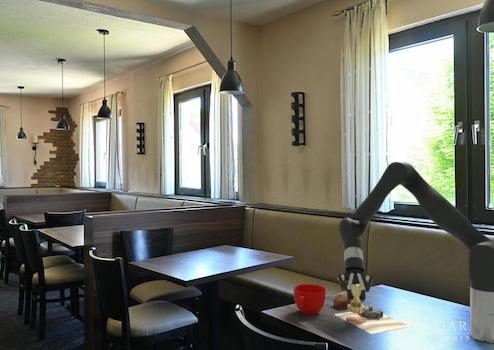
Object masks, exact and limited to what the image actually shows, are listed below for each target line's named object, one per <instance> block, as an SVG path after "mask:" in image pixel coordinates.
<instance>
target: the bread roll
mask: <svg viewBox="0 0 494 350" xmlns="http://www.w3.org/2000/svg"><path fill="white" fill-rule="evenodd" d="M332 302H333V306H334V308H336V307H337V308H336V309H339V308H340V309H339V310H346V309H348V304H350V303H351V301H349V300H348V299H347V292H346V291H341V292H339V293H337V294H336V295H335V297H334V298H333V301H332Z"/></svg>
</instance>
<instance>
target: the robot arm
mask: <svg viewBox="0 0 494 350" xmlns="http://www.w3.org/2000/svg"><path fill="white" fill-rule="evenodd" d="M398 186H402V187H403V188H405V189H406V190H407V191H408V192H409V193H411V195H413V196H414V198H415V199H416V201H417V203H418V204H419V207H420V209H421V210H422V211H423V212H424V214H425V215H426V216H427V217H428V218H429V219H430V220H431V221H432V222H433V223H434V224H435V225H436V226H437V227H438V228H440V229H441V230H443V231H445V232H446V233H448V234H449V235H451V236H452V237H454V238H455V239H457V240H458V241H459V242H461V243H462V244H463V245H464V247H466V249H468V250H469V253H468V279H469V282H470V284H469V285H470V287H469V290H470V291H469V293H470V294H469V296H470V297H469V298H470V299H469V301H470V302H469V304H470V305H469V336H470V337H471V338H472V339H474V340H477V341H480V342H484V341H486V342H485V343H488V342H489V344H493V343H494V241H493V240H491V239H490V238H489V237H487V236H486V235H485V234H483V233H482V232H481V231H480V230H478V228H477V227H475V225H473V223H471V222H470V220H469V219H468V218H467V217H465V215H463V214H462V212H460V211H459V210H458V209H457V208H456V206H454V204H452V203H451V202H450V200H448V199H447V198H446V197H444V196H443V195H442V194H441V193H440V192H439V191H438V190H437V189H435V188H434V187H432V185H430V184H429V183H428V182H427V181H426V180H425V179H424V178H423V176H422V175H421V174H420V173H419V172H418V171H417V169H416V168H414V166H413V165H412V164H410V163H409V162H406V161H400V160H399V161H397V160H396V161H393V162H390V163H389V165H387V167H386V168H385V170H384V171H383V173H382V175H381V176H380V178H379V180H378V181H377V183H376V185H375V186H374V188H373V189H372V190H371V192H370V193H369V194H368V195H367V196H366V198H365V199H364V200H363V201H362V203H361V204H360V205H359V206H358V207H357V208H356V210H355V211H354V215H355V217H356V218H357V220H358V221H356V220H354V219H352V218H350V217H344V218H342V219H341V220H340V221H339V224H338V225H339V226H338V230H339V234H340V237H341V240H342V243H343V248H344V249H343V252H344V255H343V262H344V264H343V265H344V273H343V274H337V282H338V284H339V286H340V288H341V292H344V291H346V292H347V299H348V300H349V301H351V284H352V283H359V284H361V285H362V298H361V300H362V301H361V303H364V302H365V301H366V299H367V298H366V296H367V295H366V293H369V292H370V290H371V287H372V284H373V279H374V276H373V275H370V276H369V275H367V274H366V272H365V263H364V254H363V247H362V242H361V239H360V238H361V237H363V235H364V234H365V232H366V230H367V227H368V225H369V223H370V221H371V220H372V218H374V216H375V215H376V214H377V213H378V212H379V211H380V209H381V208H382V206H383V205H384V202H385V200H386V199H387V197H388V196H389V194H390V193H391V192H392V191H393V190H394V189H396V188H397V187H398ZM344 279H345V281H346V282H347V283H348V284H347V285H346V284H345V281H344ZM365 280H366V282H367V285H366V286H365V284H364V281H365Z"/></svg>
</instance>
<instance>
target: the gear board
mask: <svg viewBox="0 0 494 350" xmlns="http://www.w3.org/2000/svg"><path fill="white" fill-rule="evenodd" d="M363 306H364V312H362V313H353V312H349V311H347V312H339V313H333V314H334V316H336V317H338V318H340V319H342V320H344V321H346V322H347V323H349V324H351V325H353V326H356V327H357V328H359V329H360V330H362V331H365V333H368V334H370V335H374V334H381V333H385V332H390V331H396V330H402V329H405V328H410V327H412V326H411V325H408V324H406V323H404V322H401V321H399V320H396V319H395V318H393V317H391V316H388V315H386V314H384V310H382V308H380V307H376V306H373V305H372V304H371V305H370V304H369V305H368V306H365V305H363Z"/></svg>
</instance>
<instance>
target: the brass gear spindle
mask: <svg viewBox="0 0 494 350" xmlns="http://www.w3.org/2000/svg"><path fill="white" fill-rule="evenodd" d="M350 290H351V303H350V304H348V310H347V311H348V312H353V313H362V312H364V306H365V305H364V304H362V300H361V298H362V285H361V284H359V283H352V284H351V289H350Z"/></svg>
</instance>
